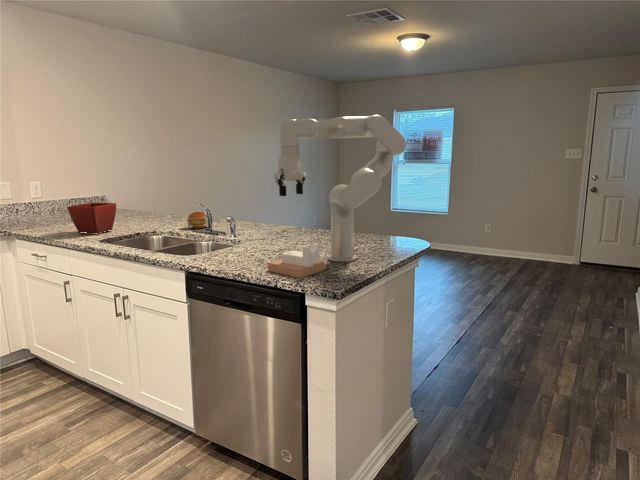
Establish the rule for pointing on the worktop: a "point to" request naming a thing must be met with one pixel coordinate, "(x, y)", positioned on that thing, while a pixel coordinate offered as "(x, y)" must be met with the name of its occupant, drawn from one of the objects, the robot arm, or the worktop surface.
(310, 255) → the bracket
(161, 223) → the worktop surface
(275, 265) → the riser block
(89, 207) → the plant pot
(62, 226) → the worktop surface
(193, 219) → the burger
